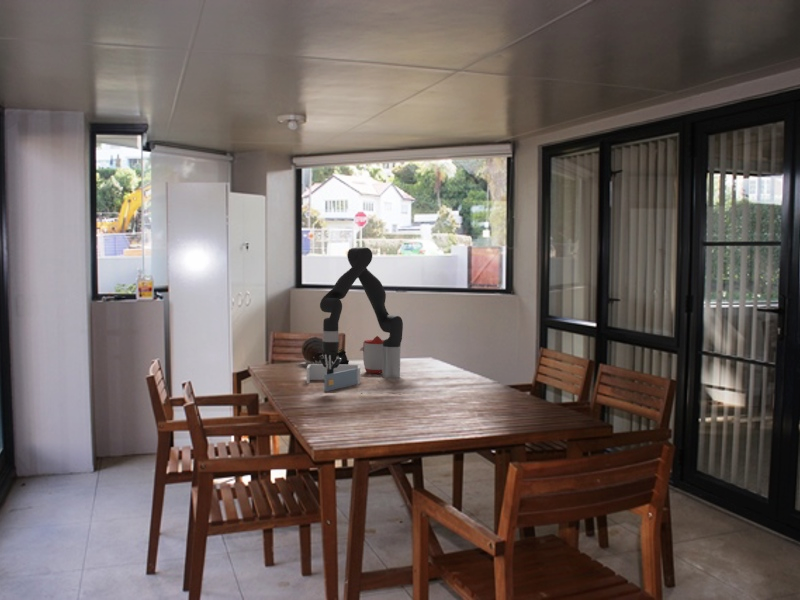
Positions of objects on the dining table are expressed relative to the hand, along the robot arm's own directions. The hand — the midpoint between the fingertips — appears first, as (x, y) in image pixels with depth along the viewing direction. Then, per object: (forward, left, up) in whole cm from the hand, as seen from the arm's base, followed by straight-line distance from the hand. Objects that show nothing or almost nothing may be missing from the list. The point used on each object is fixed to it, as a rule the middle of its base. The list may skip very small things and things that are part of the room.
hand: (330, 376), depth 346 cm
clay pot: (-74, -11, -7) cm, 75 cm away
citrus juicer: (-54, +22, -7) cm, 59 cm away
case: (-18, +1, -7) cm, 19 cm away
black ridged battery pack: (-35, +2, -7) cm, 36 cm away
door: (-2, +5, -6) cm, 8 cm away
